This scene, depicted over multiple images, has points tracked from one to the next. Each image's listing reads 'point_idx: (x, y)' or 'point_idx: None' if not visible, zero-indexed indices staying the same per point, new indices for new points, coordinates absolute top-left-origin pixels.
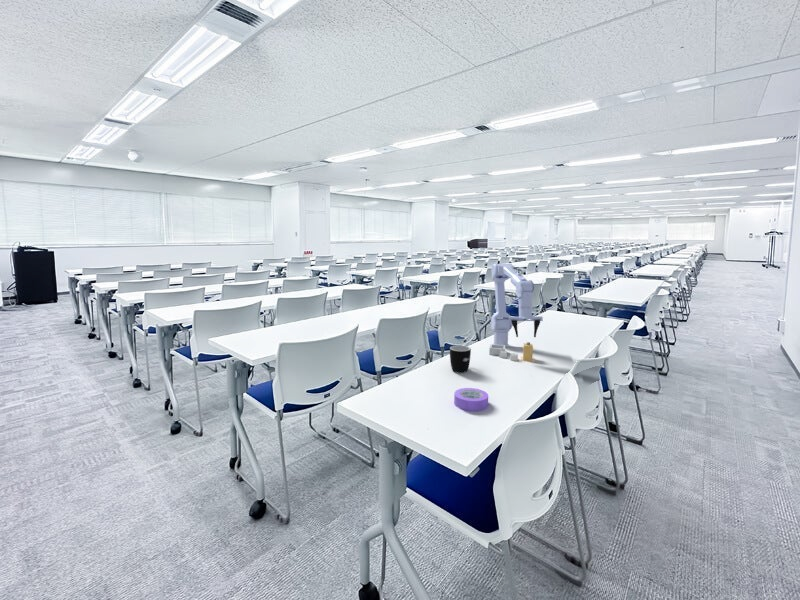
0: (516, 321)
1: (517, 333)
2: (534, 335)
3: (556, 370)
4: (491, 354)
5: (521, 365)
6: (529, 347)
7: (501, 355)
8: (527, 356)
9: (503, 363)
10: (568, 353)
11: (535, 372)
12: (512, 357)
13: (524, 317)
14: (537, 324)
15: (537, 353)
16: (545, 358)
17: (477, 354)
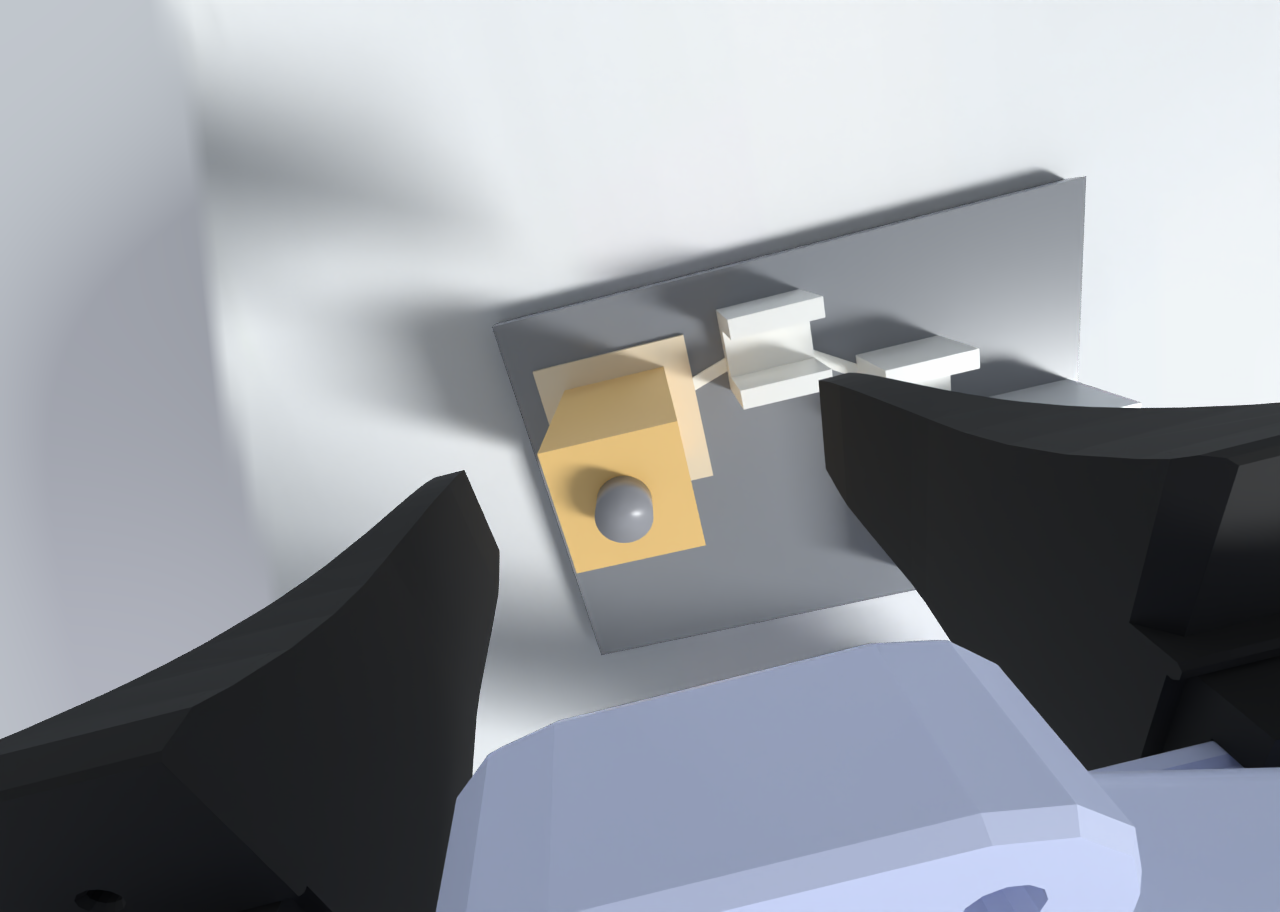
0: (1216, 678)
1: (866, 388)
2: (443, 482)
3: (271, 275)
4: (1047, 386)
5: (655, 251)
6: (589, 432)
7: (931, 346)
8: (616, 389)
9: (864, 216)
10: None
11: (441, 57)
12: (787, 298)
13: (971, 858)
14: (138, 695)
15: (601, 703)
16: None
17: (1189, 400)
